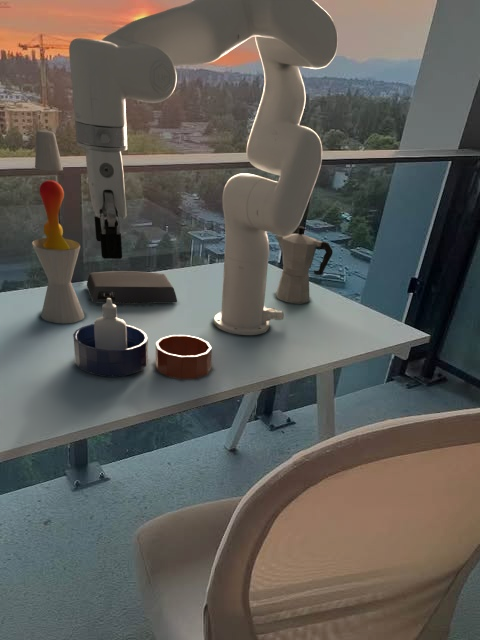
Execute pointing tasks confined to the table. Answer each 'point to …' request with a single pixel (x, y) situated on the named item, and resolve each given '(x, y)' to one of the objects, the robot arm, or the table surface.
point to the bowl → (111, 353)
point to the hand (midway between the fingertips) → (108, 249)
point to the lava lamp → (55, 240)
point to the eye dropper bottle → (110, 329)
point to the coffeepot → (299, 265)
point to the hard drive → (130, 287)
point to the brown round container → (183, 356)
